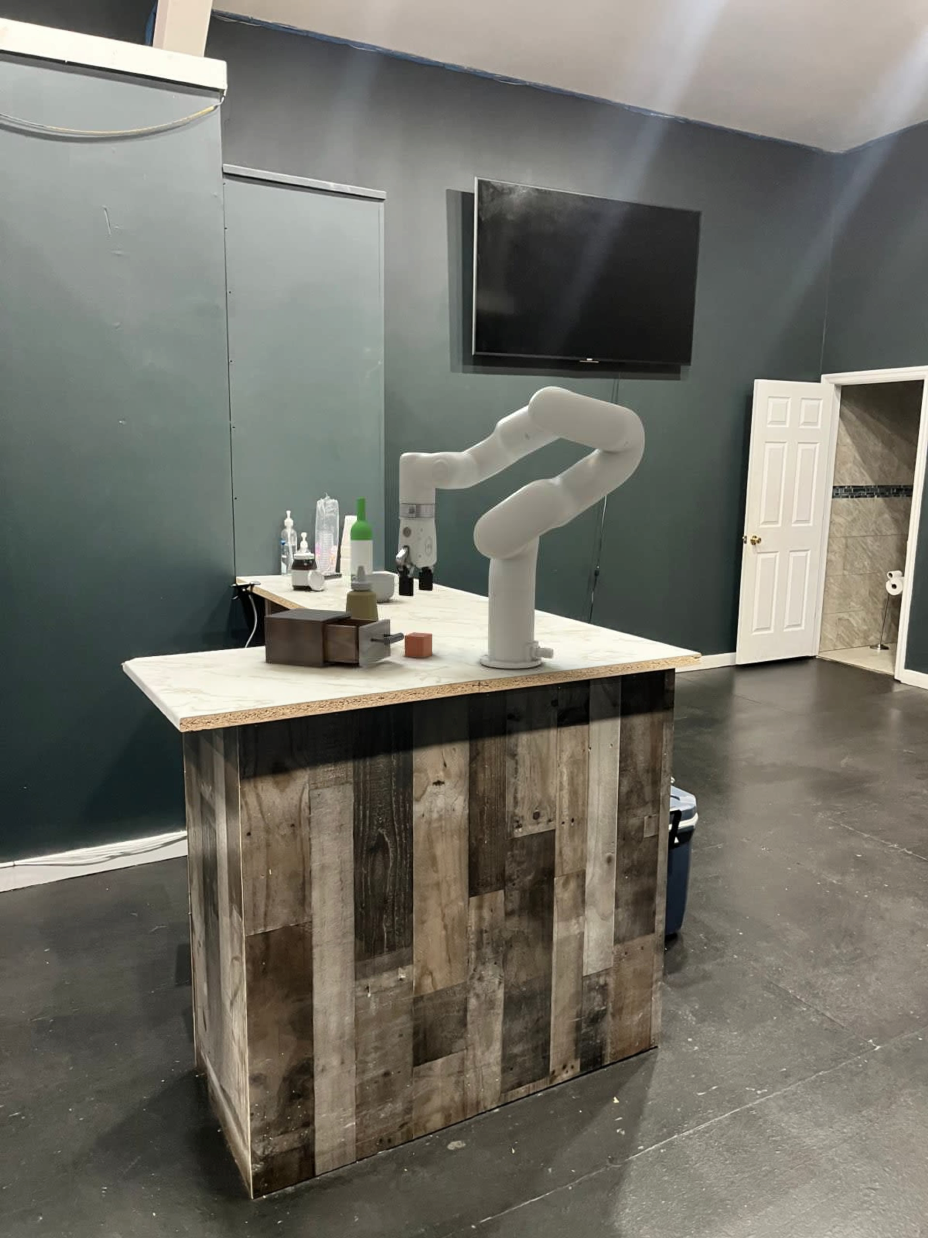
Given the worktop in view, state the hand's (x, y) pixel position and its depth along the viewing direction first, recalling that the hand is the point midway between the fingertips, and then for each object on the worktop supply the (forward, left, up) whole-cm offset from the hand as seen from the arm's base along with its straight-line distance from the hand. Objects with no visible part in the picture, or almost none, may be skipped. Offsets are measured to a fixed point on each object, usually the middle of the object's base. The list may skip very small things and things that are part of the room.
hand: (416, 593), depth 196 cm
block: (-1, 0, -13) cm, 13 cm away
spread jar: (+80, -87, -14) cm, 119 cm away
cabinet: (+18, +13, -13) cm, 26 cm away
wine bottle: (+72, -109, -14) cm, 132 cm away
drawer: (+7, +13, -13) cm, 19 cm away
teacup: (+48, -72, -14) cm, 88 cm away
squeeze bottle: (+16, -6, -14) cm, 22 cm away
